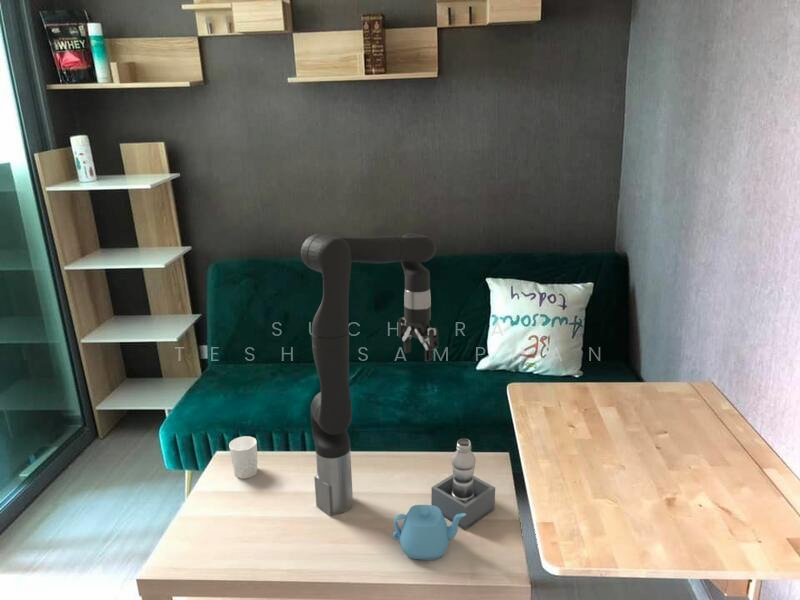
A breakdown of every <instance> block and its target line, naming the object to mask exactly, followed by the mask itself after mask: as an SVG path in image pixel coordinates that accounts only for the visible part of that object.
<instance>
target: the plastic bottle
mask: <svg viewBox="0 0 800 600" xmlns="http://www.w3.org/2000/svg"><path fill="white" fill-rule="evenodd" d="M476 462H477V460H476V456H475V454H474V453H473V451H472V442H471V441H470V439H468V438H460V439H458V440H457V442H456V450H455V452H454V453H453V454H452V457H451V467H452V475H453V489H452V493H451V496H452V497H454V498H456V499H457V500H459V501H461V502H463V503H464V504H466V503H467V502H469V501H470V500H472V499H473V498H475V495H474V490H473V476H475V475H474V472H475V469H476V464H477V463H476Z"/></svg>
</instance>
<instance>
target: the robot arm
mask: <svg viewBox="0 0 800 600" xmlns="http://www.w3.org/2000/svg"><path fill="white" fill-rule="evenodd" d="M436 252H437V245H436V243H435V240H433V238H432V237H430V236H427V235H423V234H419V233H413V232H407V233H405V234H403V235H402V236H400V235H381V236H368V237H367V236H366V237H344V236H343V237H340V236H339V237H338V236H334V235H330V234H326V233H315V234H312V235H310V236H309V237H307V238H306V239H305V240H304V242H303V243H302V245H301V249H300V257H301V261H302V263H304V265H305V266H306V267H307V268H309V269H310V270H313V271H315V272H317V273H321V276H322V299H321V303H320V305H319V307H318V309H317V310H316V313H315V315H314V317H313V319H312V322H311V347H312V354H313V360H314V364H315V368H316V372H317V376H318V379H319V383H320V392H318V393H317V394H315V396H314V398H312V401H311V404H310V422H311V431H312V438H313V442H314V447H315V459H316V473H317V474H315V476H314V490H315V493H314V494H315V505H316V507H317V508H319V509H320V510H321V511H323V513H325V514H326V515H328V516H332V515H337V514H342V513H346V512H347V511H348V510H350V509H351V508H352V507H353V504H354V495H353V477H352V475H353V473H352V456H351V454H352V453H351V440H350V439H351V438H350V436H349V432H348V428H349V426H350V425H351V422H352V418H353V408H352V407H353V406H352V401H351V393H350V383H349V379H350V375H349V374H350V373H349V371H350V326H349V302H350V301H349V294H350V293H349V291H350V284H351V282H350V280H351V271H352V263H363V264H365V263H366V264H368V263H369V264H389V263H398V262H400V263H401V266H402V270H403V274H404V295H403V298H404V299H403V301H404V303H403V307H404V308H403V309H404V312H403V315H404V316H403V317H400V318H398V321H397V325H398V326H397V336H398V338H401V339H402V343H403V345H402V346H403V352H404V353H405V354H409V353H411V352H412V340H411V339H412V338H415V339H417V340H419V342H420V343H421V344H422V345H423V347H424V361H425V362H426V363H427V362H428V363H429V362H431V361H433V358H434V356H433V355H434V354H433V351H434V350H435V349H439V329H438V327H430V326H431V325H430V322H431V319H432V318H431V317H432V311H431V307H432V302H431V300H432V297H431V294H432V293H431V285H430V284H431V280H430V279H431V275H430V270H429V269H428V268H426V267H425V266H424V265H423V264H422V263H425V262H429V260H431V259H432V258H433V257H434V256H435V254H436Z"/></svg>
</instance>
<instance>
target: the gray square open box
mask: <svg viewBox="0 0 800 600" xmlns="http://www.w3.org/2000/svg"><path fill="white" fill-rule="evenodd" d="M452 489H453V474H451V475H450V476H448V477H446V478H444V479H443V480H441V481H440V482H438V483H436V484H435V485H433V486H431V505H433V506H437V507H438V508H439V509H440V510H441V512H442V514H443V516H444V518H445V520H448V521H449V522H451V524H452V523H453V519H454V517H455V516H456V515H457V514H460V513H466V515H465V516H463V517H462V518H461V519H460V520H459V523H458V528H461V529H462V530H463V531H466V530H467V529H470V527H472V526H473V525H475V524H476V523H477V522H479V521H481V520H482V519H483V518H485V517H486V516H488V515H489V514H491V513H492V512H494V511H495V507H496V487H495V486H493V485H491V484H490V483H488V482H485V481H484V480H482V479H481V478H479V477H477V476H475V475H473V490H474V495H475V498H473V499H472V500H470V501H469V502H467V503H466V504H464V503H463V502H461V501H459V500H457V499H456V498H454V497H452V496H451V493H452Z"/></svg>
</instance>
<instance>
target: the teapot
mask: <svg viewBox="0 0 800 600" xmlns="http://www.w3.org/2000/svg"><path fill="white" fill-rule="evenodd" d="M465 515H466V513H460V514H457V515H456V516H455V517H454V519H453V523H452V522H451V525H449V526H448V524H447V523H448V522H447V519H446V518H445V517H444V516H443V514H442V512H441V510H440V509H439V508H438V507H437V506H433V505H432V504H415V505H412V506H411V507H410V508H409V510H408V512H407V513H406V514H404V513H403V514H398V515H396V516H395V518H394V520H393V526H394V528H395V531H394V532H393V534H392V538H393V539H394V540H396V541H400V545H401V549H402V551H403V552H404V554H405V555H406V556H407V557H409V558H410V559H415V560H424V561H426V560H429V561H433V560H438V559H440V558H441V557H442V556H443V555H444V554H445V552H446V551H447V549H448V547H449V543H450V540H452V539H454V538H455V537H456V535H457V532H458V528H459V526H458V523H459V520H460V519H461V518H462V517H463V516H465ZM401 520H403V522H402V525H401V528H400V526H399V525H398V524H399V523H398V521H401Z"/></svg>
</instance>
